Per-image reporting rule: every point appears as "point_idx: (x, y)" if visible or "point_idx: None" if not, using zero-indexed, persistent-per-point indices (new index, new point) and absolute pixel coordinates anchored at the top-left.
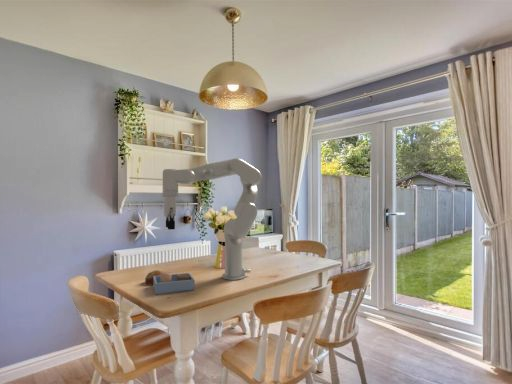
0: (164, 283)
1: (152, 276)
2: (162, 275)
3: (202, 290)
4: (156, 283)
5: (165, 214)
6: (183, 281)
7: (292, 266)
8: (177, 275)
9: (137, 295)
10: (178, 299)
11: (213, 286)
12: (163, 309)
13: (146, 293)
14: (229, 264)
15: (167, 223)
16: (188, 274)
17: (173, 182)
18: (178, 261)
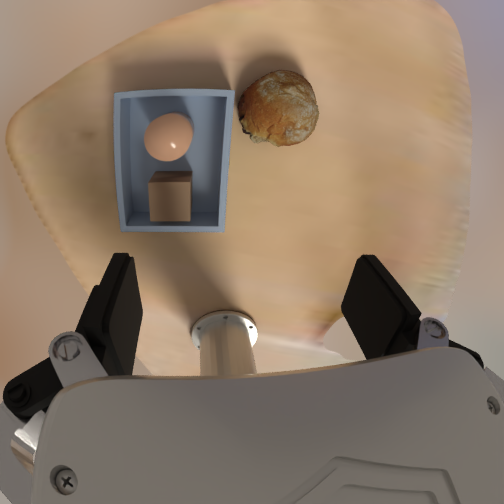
0: (114, 125)
1: (258, 90)
2: (152, 121)
3: (123, 236)
4: (115, 96)
5: (74, 418)
6: (117, 193)
7: None
8: (180, 182)
9: (147, 38)
10: (65, 161)
11: (152, 272)
12: (16, 123)
13: (154, 64)
14: (208, 354)
15: (374, 294)
16: (208, 225)
17: None
18: (458, 237)
